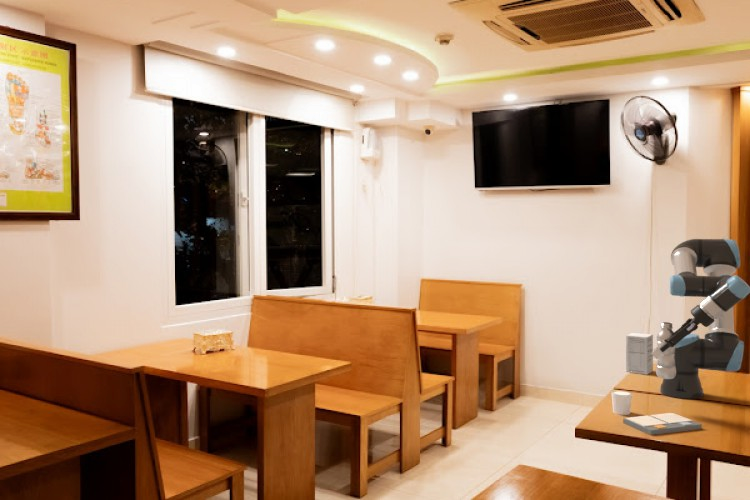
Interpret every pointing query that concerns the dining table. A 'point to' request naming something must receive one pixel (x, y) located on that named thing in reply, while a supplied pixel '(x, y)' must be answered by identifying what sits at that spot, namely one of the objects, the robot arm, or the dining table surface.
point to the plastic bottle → (666, 353)
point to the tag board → (662, 423)
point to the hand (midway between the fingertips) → (655, 354)
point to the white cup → (621, 402)
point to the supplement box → (639, 353)
